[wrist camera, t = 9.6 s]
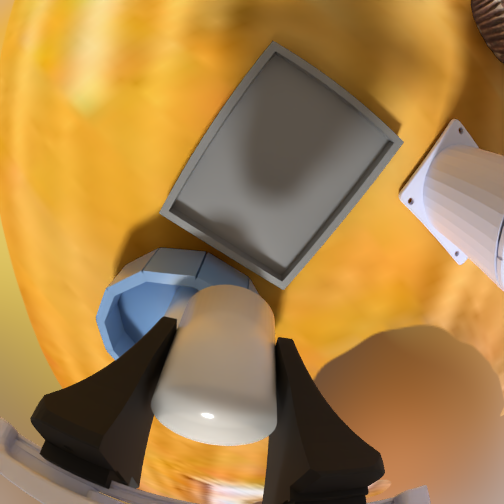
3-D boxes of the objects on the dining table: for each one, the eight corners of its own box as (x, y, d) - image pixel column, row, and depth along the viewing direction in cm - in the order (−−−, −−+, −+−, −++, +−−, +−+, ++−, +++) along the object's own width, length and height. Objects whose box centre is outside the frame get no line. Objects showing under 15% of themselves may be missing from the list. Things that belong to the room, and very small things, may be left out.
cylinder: (292, 309, 13) (303, 409, 8) (248, 364, 15) (241, 453, 10) (204, 268, 12) (169, 364, 7) (172, 333, 14) (141, 420, 9)
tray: (395, 140, 16) (403, 142, 15) (282, 280, 21) (283, 290, 20) (272, 46, 14) (273, 40, 13) (165, 207, 19) (158, 213, 18)
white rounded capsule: (228, 283, 20) (217, 335, 15) (229, 329, 22) (219, 381, 17) (170, 279, 20) (144, 326, 16) (176, 324, 22) (157, 373, 17)
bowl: (301, 308, 22) (305, 338, 19) (217, 388, 27) (212, 415, 24) (149, 215, 19) (128, 233, 16) (101, 326, 24) (85, 349, 21)
